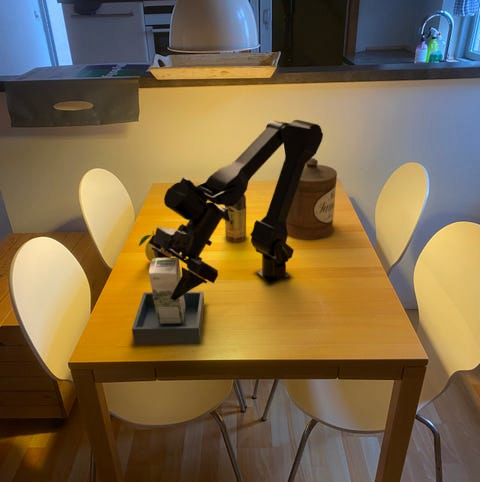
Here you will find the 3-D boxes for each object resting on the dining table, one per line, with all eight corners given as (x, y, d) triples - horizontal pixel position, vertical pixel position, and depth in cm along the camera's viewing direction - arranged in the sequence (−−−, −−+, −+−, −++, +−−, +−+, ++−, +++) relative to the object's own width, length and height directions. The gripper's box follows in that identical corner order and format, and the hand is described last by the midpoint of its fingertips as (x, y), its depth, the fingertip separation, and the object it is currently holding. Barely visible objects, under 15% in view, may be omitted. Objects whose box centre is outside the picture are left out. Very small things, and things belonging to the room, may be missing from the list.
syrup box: (186, 307, 109) (178, 255, 100) (183, 325, 104) (175, 272, 95) (161, 308, 109) (152, 256, 100) (157, 325, 104) (147, 272, 95)
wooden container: (327, 242, 138) (334, 169, 126) (278, 236, 142) (280, 164, 130) (335, 221, 150) (341, 152, 138) (290, 216, 154) (292, 149, 142)
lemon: (142, 268, 128) (136, 235, 123) (148, 257, 133) (143, 225, 127) (166, 269, 127) (161, 236, 122) (171, 258, 132) (167, 226, 127)
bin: (134, 344, 101) (131, 329, 98) (145, 307, 112) (143, 292, 110) (200, 343, 100) (198, 328, 98) (204, 306, 112) (203, 291, 110)
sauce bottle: (222, 235, 143) (219, 172, 133) (241, 232, 145) (239, 169, 135) (230, 245, 138) (228, 179, 127) (250, 240, 140) (249, 176, 129)
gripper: (150, 199, 100) (112, 261, 101) (201, 226, 88) (158, 298, 88) (184, 221, 109) (149, 279, 109) (235, 249, 97) (196, 314, 97)
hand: (162, 291), depth 101 cm, fingers closed on syrup box, 8 cm apart
